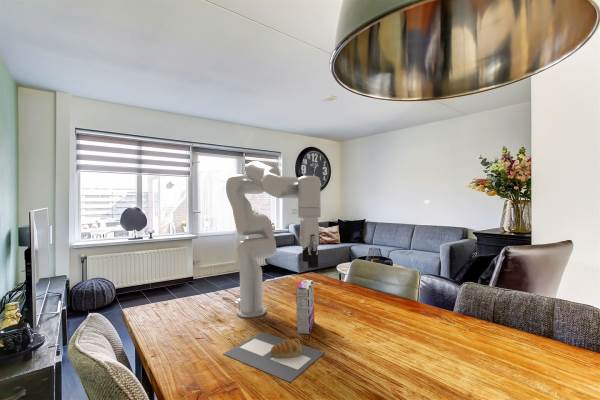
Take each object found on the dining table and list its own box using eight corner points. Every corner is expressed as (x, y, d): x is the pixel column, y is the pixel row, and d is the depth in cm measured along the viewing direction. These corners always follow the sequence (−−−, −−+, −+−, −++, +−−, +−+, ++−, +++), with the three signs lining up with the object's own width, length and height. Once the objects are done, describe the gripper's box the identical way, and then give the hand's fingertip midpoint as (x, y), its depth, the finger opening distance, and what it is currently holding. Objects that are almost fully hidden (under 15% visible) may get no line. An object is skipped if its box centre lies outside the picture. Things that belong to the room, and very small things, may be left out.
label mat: (223, 354, 90) (223, 353, 90) (262, 332, 105) (262, 331, 105) (290, 382, 75) (290, 381, 75) (324, 352, 90) (324, 351, 90)
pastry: (273, 362, 84) (273, 348, 85) (268, 351, 91) (268, 339, 91) (304, 356, 88) (303, 343, 88) (297, 346, 94) (296, 334, 94)
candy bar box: (302, 321, 114) (301, 279, 115) (314, 322, 113) (314, 280, 114) (296, 333, 103) (295, 287, 104) (310, 334, 102) (309, 288, 103)
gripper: (294, 212, 105) (295, 259, 105) (302, 214, 88) (303, 270, 88) (314, 212, 106) (315, 258, 106) (326, 213, 89) (327, 269, 89)
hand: (309, 264), depth 97 cm, fingers open, 9 cm apart
